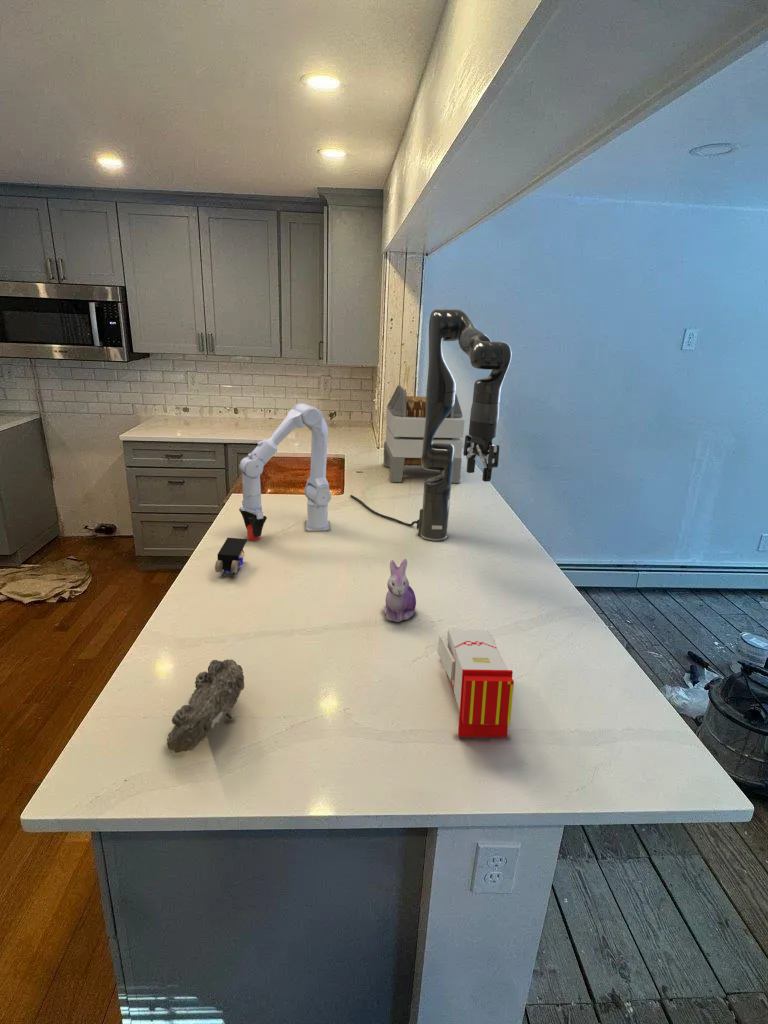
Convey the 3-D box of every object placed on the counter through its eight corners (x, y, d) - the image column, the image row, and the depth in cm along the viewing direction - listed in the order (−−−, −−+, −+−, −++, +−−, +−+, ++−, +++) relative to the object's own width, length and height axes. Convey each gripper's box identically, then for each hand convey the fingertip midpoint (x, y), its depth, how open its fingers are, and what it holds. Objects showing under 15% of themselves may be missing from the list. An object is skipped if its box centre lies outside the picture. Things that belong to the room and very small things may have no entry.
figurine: (392, 627, 141) (395, 572, 136) (374, 608, 149) (376, 556, 144) (425, 619, 145) (429, 566, 140) (405, 601, 154) (408, 550, 149)
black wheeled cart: (238, 584, 162) (249, 557, 175) (236, 562, 158) (247, 536, 172) (215, 584, 161) (227, 556, 175) (212, 561, 158) (225, 535, 171)
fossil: (192, 660, 117) (244, 628, 112) (224, 691, 120) (276, 661, 115) (142, 746, 98) (202, 712, 93) (182, 779, 101) (242, 748, 96)
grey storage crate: (382, 463, 289) (386, 382, 275) (445, 464, 293) (451, 384, 279) (390, 482, 257) (394, 392, 243) (460, 483, 261) (468, 394, 247)
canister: (245, 538, 190) (244, 526, 188) (252, 535, 193) (252, 522, 191) (253, 541, 188) (253, 528, 187) (261, 537, 191) (261, 525, 190)
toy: (488, 613, 130) (523, 677, 101) (484, 667, 133) (517, 744, 104) (435, 612, 130) (455, 676, 101) (432, 666, 133) (451, 743, 103)
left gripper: (232, 489, 189) (234, 527, 193) (247, 502, 177) (249, 542, 182) (253, 486, 193) (254, 523, 197) (269, 498, 181) (270, 538, 186)
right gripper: (458, 414, 157) (453, 470, 163) (486, 424, 145) (479, 485, 150) (482, 413, 160) (476, 469, 165) (511, 423, 147) (503, 483, 153)
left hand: (253, 532), depth 190 cm, fingers open, 7 cm apart
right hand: (478, 476), depth 158 cm, fingers open, 8 cm apart
